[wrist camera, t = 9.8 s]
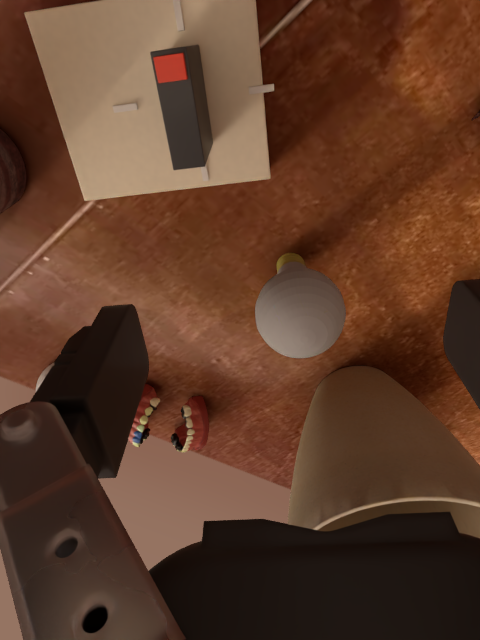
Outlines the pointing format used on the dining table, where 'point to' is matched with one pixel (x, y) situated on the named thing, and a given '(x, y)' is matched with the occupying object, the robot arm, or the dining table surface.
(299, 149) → the dining table surface
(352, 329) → the dining table surface
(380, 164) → the dining table surface
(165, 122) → the knob
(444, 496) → the plant pot
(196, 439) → the dentures
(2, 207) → the can
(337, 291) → the light bulb
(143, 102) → the panel
